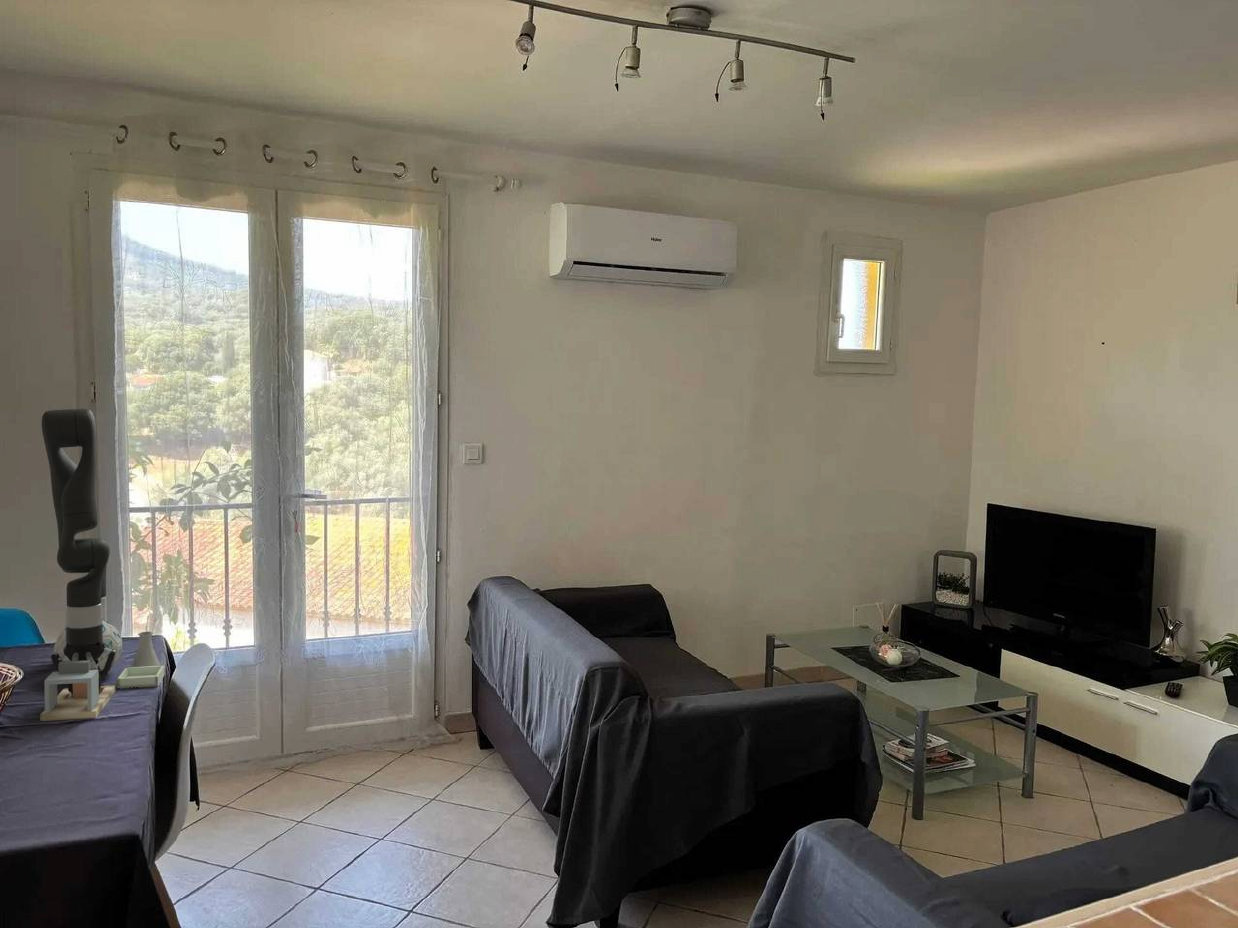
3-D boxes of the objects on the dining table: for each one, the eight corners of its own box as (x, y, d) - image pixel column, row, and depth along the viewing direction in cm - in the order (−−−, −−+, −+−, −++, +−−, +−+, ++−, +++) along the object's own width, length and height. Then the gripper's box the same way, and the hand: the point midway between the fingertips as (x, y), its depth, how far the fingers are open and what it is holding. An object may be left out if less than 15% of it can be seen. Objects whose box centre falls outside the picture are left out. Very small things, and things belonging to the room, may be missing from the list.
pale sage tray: (125, 676, 225) (125, 667, 225) (164, 674, 228) (164, 665, 228) (117, 688, 217) (117, 678, 217) (157, 686, 220) (157, 676, 219)
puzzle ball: (135, 669, 231) (134, 614, 230) (95, 688, 216) (94, 629, 215) (82, 665, 233) (81, 610, 232) (39, 683, 218) (38, 625, 217)
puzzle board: (64, 694, 212) (64, 688, 211) (115, 691, 215) (115, 685, 215) (40, 721, 195) (40, 714, 195) (96, 717, 198) (96, 711, 198)
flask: (124, 670, 230) (123, 633, 229) (149, 663, 237) (149, 627, 236) (141, 675, 227) (141, 638, 226) (167, 668, 233) (166, 631, 232)
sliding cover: (53, 703, 201) (52, 661, 200) (98, 700, 204) (98, 659, 203) (44, 713, 195) (44, 669, 194) (91, 710, 198) (91, 667, 197)
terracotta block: (77, 695, 210) (77, 667, 210) (96, 694, 212) (96, 666, 211) (72, 701, 207) (72, 673, 206) (92, 700, 208) (91, 672, 207)
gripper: (44, 628, 202) (45, 700, 203) (114, 625, 206) (114, 696, 208) (54, 619, 209) (55, 689, 210) (121, 617, 213) (122, 685, 215)
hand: (84, 692), depth 209 cm, fingers closed on terracotta block, 4 cm apart
